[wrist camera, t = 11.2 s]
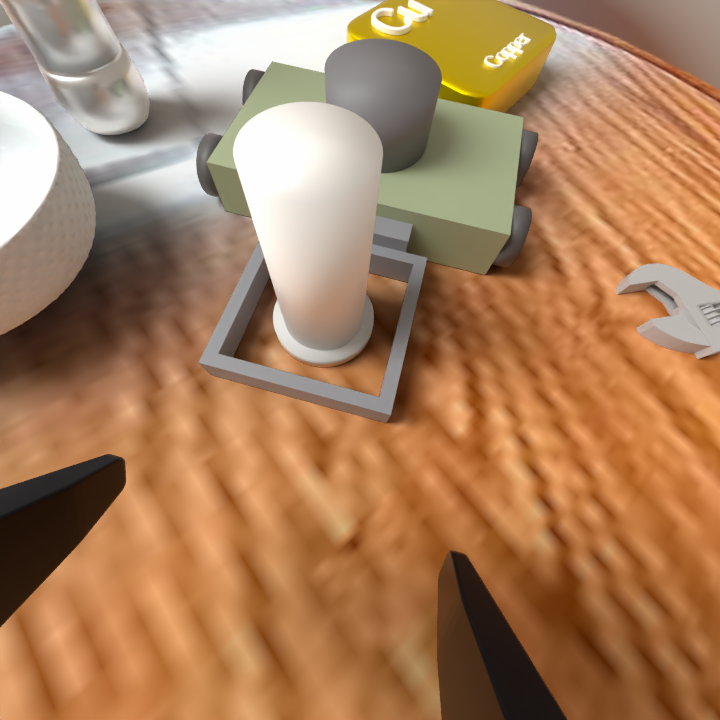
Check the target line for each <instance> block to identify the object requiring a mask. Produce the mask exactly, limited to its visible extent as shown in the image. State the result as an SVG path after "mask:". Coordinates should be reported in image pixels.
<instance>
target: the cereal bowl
mask: <svg viewBox="0 0 720 720" xmlns="http://www.w3.org/2000/svg"><path fill="white" fill-rule="evenodd" d="M95 219H96V211H95V201H94V198H93V192H92V190H91V188H90V184H89V181H88V179H87V178H86V176H85V173H84V170H83V169H82V168H81V166H80V165H79V162H78V159H77V158H76V157H75V156H74V155H73V153H72V151H71V149H70V147H69V146H68V145H67V144H66V142H65V141H64V140H63V138H62V136H61V135H60V133H59V132H58V131H57V130H56V129H55V128H54V126H53V125H52V123H51V122H50V121H48V120H47V119H46V118H45V117H44V116H43V115H42V114H41V113H40V112H39V111H37V110H36V109H35V108H34V107H32V106H31V105H29V104H28V103H26V102H24V101H22V100H21V99H19V98H16V97H14V96H12V95H9V94H6V93H3V92H0V335H2V334H5V333H6V332H8V331H9V330H12V329H14V328H16V327H17V326H19V325H21V324H23V323H24V322H25V321H27V320H29V319H31V318H32V317H33V316H35V315H37V314H38V313H39V312H40V311H42V310H43V309H45V308H46V307H47V306H48V305H49V304H51V303H52V301H54V300H56V299H58V297H59V295H60V294H62V293H63V292H64V290H65V289H66V288H67V287H69V285H70V283H71V282H72V281H74V279H75V277H76V276H77V274H78V273H79V271H80V270H81V269H82V266H83V265H84V262H85V261H86V259H87V258H88V255H89V252H90V249H91V248H92V245H93V239H94V237H95V228H96V220H95Z"/></svg>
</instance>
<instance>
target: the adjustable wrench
mask: <svg viewBox="0 0 720 720" xmlns="http://www.w3.org/2000/svg"><path fill="white" fill-rule="evenodd" d="M643 290H645V291H646V292H648V293H649V294H650V295H652V296H653V297H655V298H656V299H657V300H659V301H660V302H661V303H663V304H664V306H665V308H666V309H667V311H668V313H669V314H670V316H668V317H662V318H656V319H651V320H649V321H647V322H646V323H644V324H642V325H640V326H639V327H637V328H636V329H637V331H638V333H639V334H640V335H641V336H643V337H644V338H646V339H647V340H649V341H651V342H653V343H655V344H657V345H659V346H661V347H664V348H667V349H670V350H674V351H679V352H686V353H694V354H695V356H696V357H697V359H700V358H702V357H705V356H711V355H715V354H718V353H720V291H718V290H716V289H714V288H712V287H710V286H708V285H706V284H704V283H703V282H701V281H699V280H697V279H696V278H694V277H692V276H690V275H689V274H687V273H685V272H683V271H682V270H679V269H677V268H675V267H672V266H668V265H664V264H647V265H643V266H641V267H639V268H637V269H636V270H634V271H633V272H631V273H630V274H629V275H627V276H626V277H625V278H624V279H622V280H621V281H620V282H619V284H618V285H617V287H616V293H617V295H618V294H624V293H630V292H637V291H643Z"/></svg>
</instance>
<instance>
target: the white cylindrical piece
mask: <svg viewBox="0 0 720 720" xmlns="http://www.w3.org/2000/svg"><path fill="white" fill-rule="evenodd" d="M233 157H234V161H235V165H236V168H237V171H238V175H239V178H240V181H241V184H242V187H243V191H244V194H245V197H246V200H247V203H248V207H249V210H250V213H251V216H252V219H253V223H254V226H255V229H256V232H257V236H258V239H259V242H260V245H261V248H262V252H263V255H264V258H265V261H266V264H267V268H268V271H269V274H270V277H271V280H272V284H273V287H274V290H275V293H276V297H277V301H276V304H275V307H274V311H273V324H274V329H275V331H276V334H277V337H278V339H279V342H280V343H281V345H282V347H283V348H284V349H285V351H286V352H287V353H288V354H289V355H290V356H292V357H293V358H294V359H296V360H298V361H300V362H301V363H304V364H307V365H310V366H315V367H332V366H337V365H341V364H343V363H346V362H348V361H350V360H352V359H353V358H355V357H356V356H357V355H358V354H359V353H360V352H362V350H363V349H364V348H365V347H366V345H367V343H368V342H369V339H370V337H371V333H372V329H373V323H374V311H373V306H372V303H371V301H370V299H369V297H368V295H367V294H366V290H367V282H368V274H369V265H370V257H371V249H372V241H373V233H374V225H375V217H376V208H377V200H378V192H379V184H380V176H381V168H382V160H383V147H382V143H381V140H380V138H379V136H378V134H377V133H376V131H375V130H374V128H373V127H372V126H371V125H370V124H369V123H368V122H367V121H365V120H364V119H363V118H362V117H360V116H359V115H357V114H355V113H353V112H351V111H349V110H347V109H344V108H342V107H339V106H335V105H331V104H327V103H320V102H294V103H287V104H282V105H279V106H275V107H272V108H270V109H267V110H265V111H263V112H261V113H259V114H257V115H256V116H254V117H253V118H252V119H250V120H249V121H248V122H247V123H246V124H245V125H244V126H243V127H242V129H241V130H240V131H239V133H238V135H237V137H236V139H235V142H234V147H233Z"/></svg>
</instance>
